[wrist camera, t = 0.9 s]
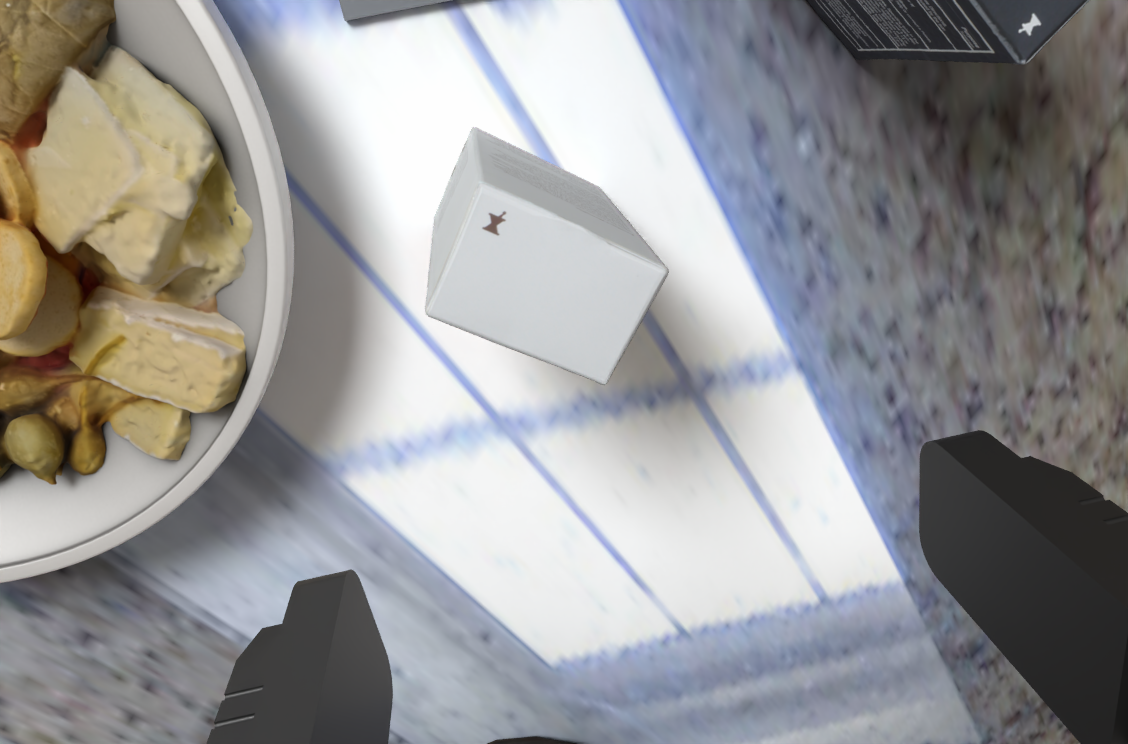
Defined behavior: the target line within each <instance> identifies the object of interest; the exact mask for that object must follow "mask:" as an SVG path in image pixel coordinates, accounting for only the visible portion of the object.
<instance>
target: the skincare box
mask: <svg viewBox="0 0 1128 744" xmlns="http://www.w3.org/2000/svg"><path fill="white" fill-rule="evenodd" d="M668 273H669V271H668V268H667V267H666V266H665V265H664V264H663V262H662V261H661V260H660V259H659V258H658V256H657V255H656V254H655V253H654V252H653V250H652V249H651V248H650V247H649V246H648V244H647V243H646V242H645V241H644V240H643V238H642V237H641V236H640V235H639V234H638V232H637V231H636V230H635V229H634V228H633V226H632V225H631V224H630V223H629V222H628V220H627V219H626V218H625V217H624V216H623V215H622V213H621V212H620V211H619V210H618V209H617V208H616V206H615V205H614V204H613V203H612V202H611V200H610V199H609V198H608V197H607V196H606V194H605V193H604V192H603V191H602V190H601V189H600V187H598V186H596V185H594V184H592V183H590V182H588V181H586V180H584V179H582V178H580V177H578V176H576V175H574V174H572V173H570V172H568V171H565V170H563V169H561V168H559V167H557V166H555V165H553V164H551V163H549V162H547V161H545V160H543V159H541V158H539V157H536V156H534V155H532V154H530V153H528V152H526V151H524V150H522V149H520V148H518V147H516V146H514V145H511V144H509V143H507V142H505V141H503V140H501V139H499V138H497V137H495V136H493V135H491V134H488V133H486V132H484V131H482V130H480V129H478V128H476V127H473V128H472V129H471V131H470V134H469V136H468V138H467V141H466V143H465V145H464V148H463V150H462V152H461V154H460V157H459V159H458V161H457V163H456V166H455V168H454V170H453V173H452V175H451V178H450V180H449V182H448V185H447V187H446V190H445V192H444V195H443V197H442V200H441V202H440V205H439V207H438V210H437V212H436V214H435V217H434V226H433V234H432V244H431V255H430V265H429V275H428V285H427V297H426V305H425V312H426V314H427V315H428V316H429V317H431V318H434V319H437V320H439V321H441V322H444V323H446V324H449V325H451V326H454V327H456V328H459V329H461V330H464V331H466V332H469V333H472V334H474V335H477V336H479V337H482V338H484V339H487V340H489V341H491V342H494V343H497V344H499V345H502V346H505V347H507V348H510V349H512V350H515V351H518V352H520V353H523V354H526V355H528V356H531V357H534V358H537V359H539V360H542V361H544V362H547V363H550V364H552V365H555V366H557V367H560V368H562V369H565V370H567V371H570V372H573V373H575V374H578V375H580V376H583V377H585V378H588V379H590V380H593V381H595V382H597V383H600V384H602V385H605V384H607V382H608V380H609V378H610V376H611V375H612V373H613V371H614V369H615V368H616V366H617V364H618V362H619V361H620V359H621V357H622V355H623V353H624V352H625V350H626V348H627V346H628V345H629V343H630V341H631V339H632V338H633V336H634V334H635V332H636V330H637V329H638V327H639V325H640V323H641V322H642V320H643V318H644V316H645V315H646V313H647V311H648V309H649V307H650V306H651V304H652V302H653V300H654V298H655V297H656V295H657V293H658V291H659V289H660V288H661V286H662V284H663V282H664V280H665V279H666V277H667V275H668Z"/></svg>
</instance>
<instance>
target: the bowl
mask: <svg viewBox="0 0 1128 744" xmlns="http://www.w3.org/2000/svg"><path fill="white" fill-rule="evenodd" d="M293 278H294V231H293V219H292V210H291V201H290V195H289V189H288V184H287V178H286V173H285V168H284V164H283V160H282V156H281V152H280V148H279V144H278V141H277V138H276V135H275V132H274V128H273V125H272V122H271V119H270V116H269V113H268V111H267V108H266V105H265V103H264V100H263V97H262V95H261V92H260V90H259V87H258V85H257V83H256V81H255V78H254V76H253V74H252V72H251V69H250V67H249V65H248V63H247V61H246V58H245V57H244V55H243V53H242V51H241V49H240V47H239V45H238V43H237V41H236V39H235V37H234V36H233V34H232V32H231V30H230V28H229V26H228V25H227V23H226V21H225V20H224V18H223V16H222V15H221V13H220V11H219V10H218V8H217V6H216V5H215V3H214V1H213V0H0V583H3V582H9V581H14V580H19V579H24V578H28V577H33V576H37V575H41V574H44V573H48V572H52V571H55V570H59V569H62V568H65V567H68V566H71V565H74V564H77V563H80V562H82V561H85V560H87V559H89V558H92V557H94V556H97V555H99V554H102V553H104V552H106V551H108V550H110V549H112V548H114V547H116V546H119V545H121V544H123V543H124V542H126V541H128V540H130V539H132V538H133V537H135V536H137V535H139V534H140V533H142V532H144V531H145V530H147V529H148V528H150V527H151V526H153V525H154V524H156V523H158V522H159V521H161V520H162V519H163V518H165V517H166V516H167V515H168V514H170V513H171V512H172V511H174V510H175V509H176V508H178V507H179V506H180V505H181V504H182V503H183V502H185V501H186V500H187V499H188V498H189V497H190V496H191V495H193V494H194V493H195V492H196V491H197V490H198V489H199V488H200V487H201V486H202V485H203V484H204V483H205V482H206V481H207V480H208V479H209V478H210V477H211V475H212V474H213V473H214V472H215V471H216V470H217V468H218V467H219V466H220V465H221V464H222V463H223V461H224V460H225V459H226V457H227V456H228V455H229V453H230V452H231V451H232V449H233V448H234V446H235V445H236V444H237V442H238V441H239V439H240V437H241V436H242V434H243V433H244V431H245V429H246V428H247V426H248V424H249V423H250V421H251V419H252V417H253V415H254V413H255V411H256V409H257V408H258V406H259V404H260V402H261V400H262V398H263V396H264V394H265V391H266V389H267V386H268V384H269V382H270V379H271V377H272V375H273V372H274V370H275V366H276V363H277V360H278V357H279V354H280V351H281V348H282V344H283V340H284V336H285V332H286V328H287V323H288V317H289V312H290V306H291V299H292V288H293Z"/></svg>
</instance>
